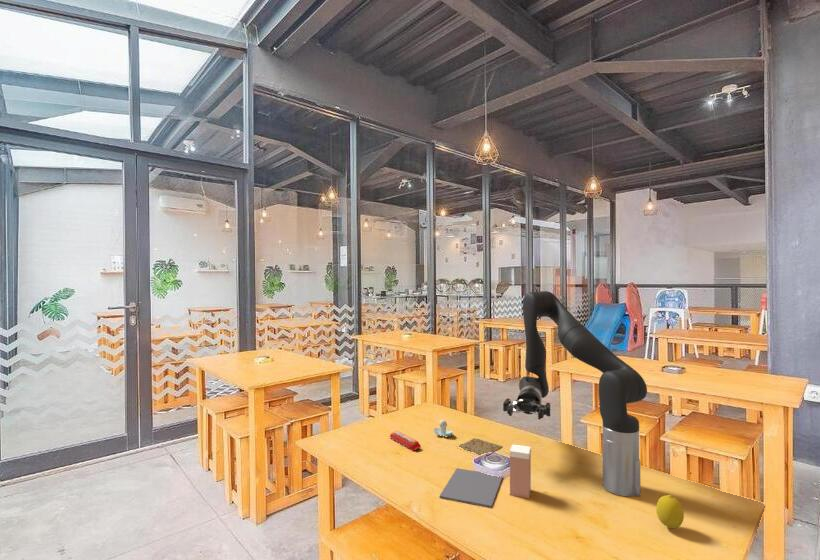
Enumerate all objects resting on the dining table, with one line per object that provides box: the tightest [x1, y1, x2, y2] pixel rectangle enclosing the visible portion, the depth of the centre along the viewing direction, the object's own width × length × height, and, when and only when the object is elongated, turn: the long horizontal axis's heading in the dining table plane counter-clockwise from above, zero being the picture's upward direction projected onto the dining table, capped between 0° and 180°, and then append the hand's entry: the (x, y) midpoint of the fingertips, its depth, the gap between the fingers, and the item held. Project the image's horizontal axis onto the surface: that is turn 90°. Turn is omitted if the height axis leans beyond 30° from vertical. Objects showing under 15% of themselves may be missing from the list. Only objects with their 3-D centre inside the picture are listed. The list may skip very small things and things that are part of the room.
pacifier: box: [433, 419, 454, 437], centre depth 161 cm, size 7×6×6 cm
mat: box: [438, 467, 503, 508], centre depth 121 cm, size 14×18×1 cm
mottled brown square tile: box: [458, 437, 504, 456], centre depth 150 cm, size 12×12×1 cm
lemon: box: [655, 494, 685, 530], centre depth 101 cm, size 6×6×8 cm
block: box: [509, 444, 532, 499], centre depth 118 cm, size 5×5×12 cm
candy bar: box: [389, 430, 422, 451], centre depth 153 cm, size 16×4×3 cm, turn 36°
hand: (524, 414), depth 128 cm, fingers open, 8 cm apart
